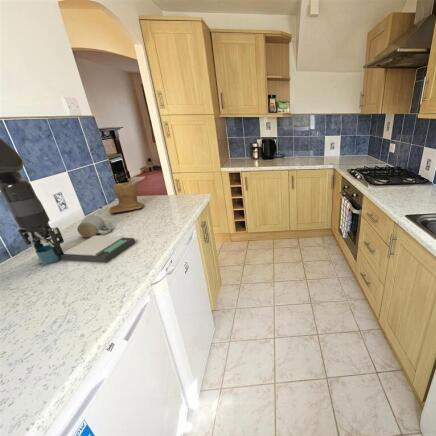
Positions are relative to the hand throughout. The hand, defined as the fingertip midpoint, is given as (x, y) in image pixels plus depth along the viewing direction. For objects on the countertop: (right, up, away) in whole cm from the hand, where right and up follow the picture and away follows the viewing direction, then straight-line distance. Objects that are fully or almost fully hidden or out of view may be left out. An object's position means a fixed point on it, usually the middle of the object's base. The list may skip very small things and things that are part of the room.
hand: (51, 254), depth 87 cm
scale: (+14, 0, +6) cm, 15 cm away
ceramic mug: (+1, +6, +20) cm, 21 cm away
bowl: (0, -2, +1) cm, 2 cm away
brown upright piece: (-4, +17, +47) cm, 50 cm away
